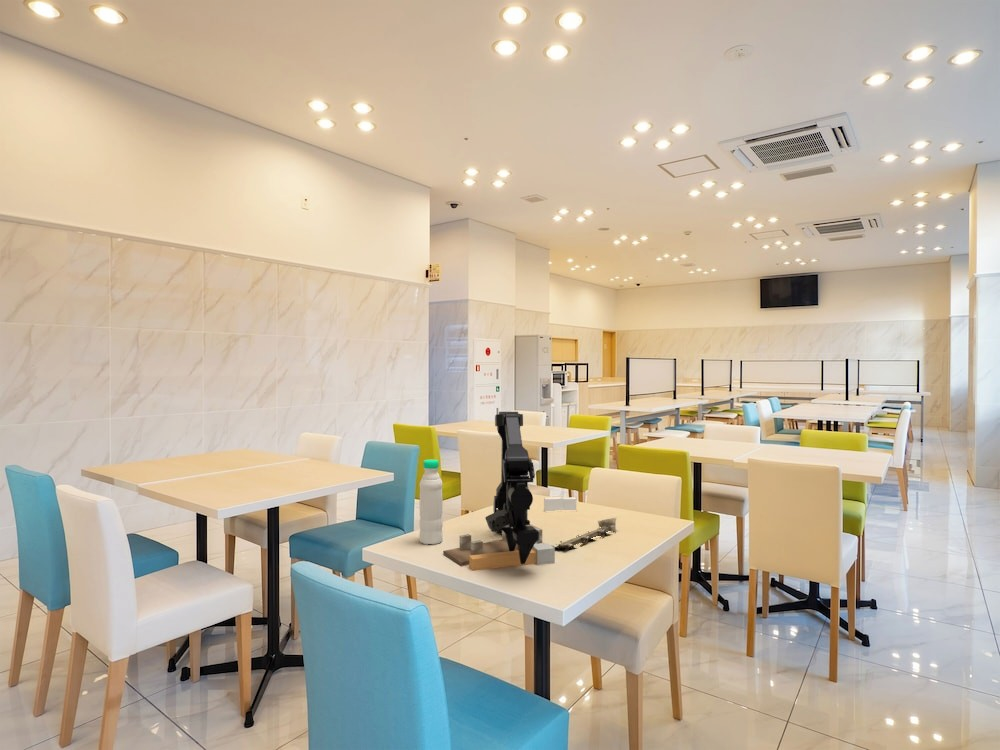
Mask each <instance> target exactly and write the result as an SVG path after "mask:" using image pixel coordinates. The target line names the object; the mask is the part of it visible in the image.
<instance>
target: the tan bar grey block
mask: <svg viewBox="0 0 1000 750" xmlns="http://www.w3.org/2000/svg"><path fill="white" fill-rule="evenodd" d="M551 545H552V544H550V543H549V542H542V543H540V544H534V546H533V548H532V550H531V552H530V554H529V556H528V558H527V560H526V562H525V564H521V563H520V558H519V550H518V551H508V552H499V553H489V554H479V555H469V568H470V570H471V571H477V570H488V569H495V568H496V569H497V568H498V569H499V568H505V567H514V566H516V567H517V566H524V565H533V564H537V565H546V564H547V565H548V564H555V562H556V561H555V559H556V557H555V555H556V554H555V551H556V548H554V547H555V546H554V545H552V546H551ZM553 546H554V547H553Z"/></svg>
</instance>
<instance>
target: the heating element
mask: <svg viewBox="0 0 1000 750" xmlns="http://www.w3.org/2000/svg"><path fill="white" fill-rule="evenodd" d="M616 521H617V516H615V517H611V518H606V519H602V520H597V524H598V528H596V529H594V530H592V531H591V530H590V531H591V532H589V531H587V532H588V533H587V532H586V533H582V534H583V535H582V534H581V536H579V535H580V534H577V535H576V536H575V537H576V538H575V537H573V538H570V539H569V540H566V541H562V540H560V541H559V543H556V544H555V545H552V544H550V545H551V546H553V547H554V548H555V549H559V550H563V549H564V550H568V549H572V550H573V549H574V550H575V549H576V547H575V546H577V545H580V546H579V547H580V548H582V547H583V546H584V544H587V543H588V541H594V540H593V539H591V538H593V537H596V536H601V537H603V538H604V537H605V535H607V536H609V534H610V533H608V534H607V533H606V532H608V531H614V532H615V533H616V531H617V528H616ZM599 527H601V528H599ZM614 532H613V533H614ZM577 536H578V537H577ZM579 543H580V544H579ZM576 544H577V545H576ZM574 545H575V546H574Z"/></svg>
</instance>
